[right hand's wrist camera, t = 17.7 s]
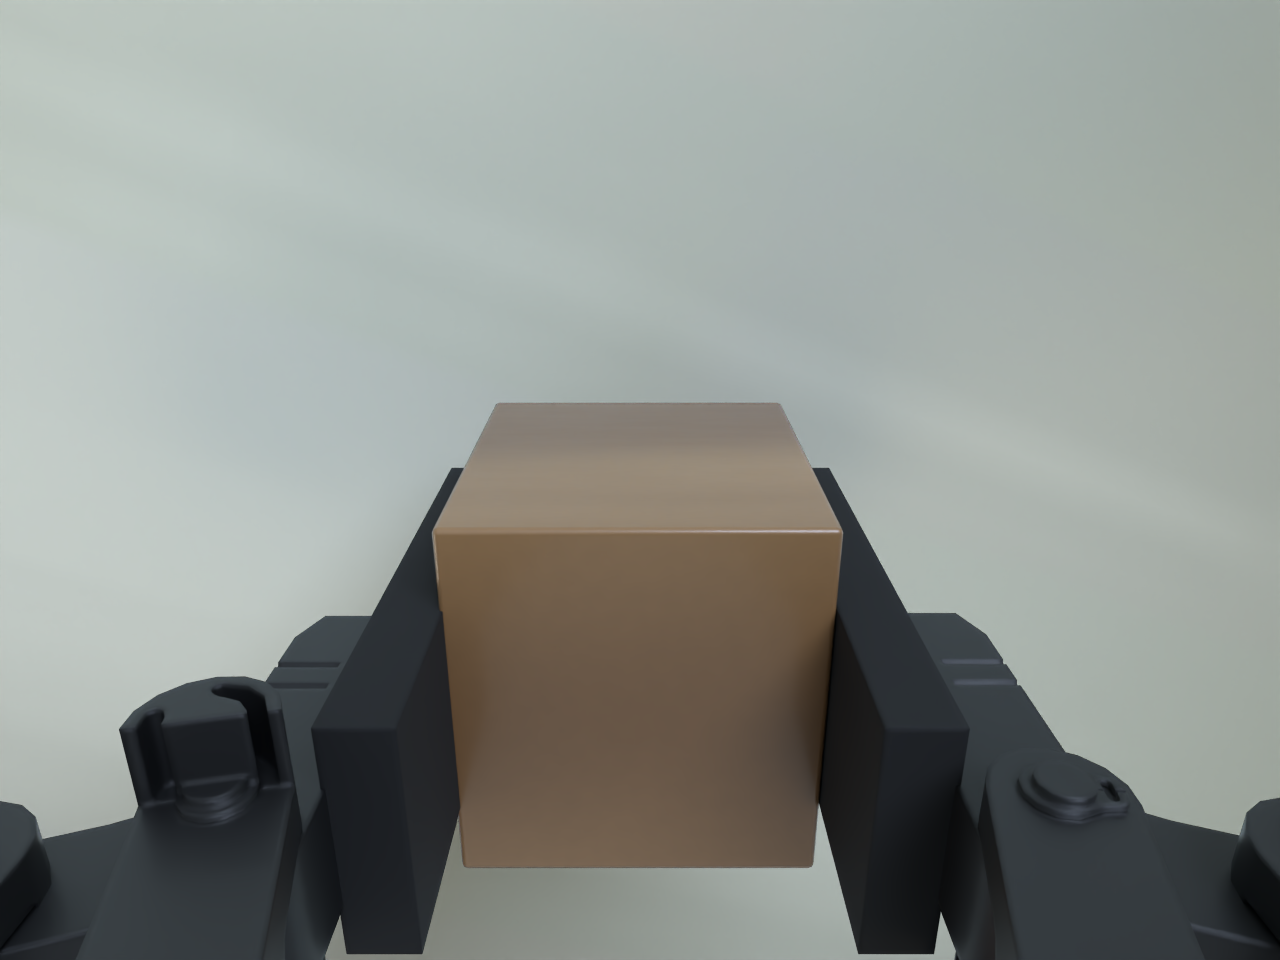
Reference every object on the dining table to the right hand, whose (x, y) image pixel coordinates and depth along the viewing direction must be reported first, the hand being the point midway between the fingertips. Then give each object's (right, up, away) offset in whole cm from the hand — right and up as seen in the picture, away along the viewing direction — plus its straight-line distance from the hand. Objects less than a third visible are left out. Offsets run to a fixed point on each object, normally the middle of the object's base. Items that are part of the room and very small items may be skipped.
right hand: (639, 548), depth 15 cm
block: (0, 0, 0) cm, 0 cm away
